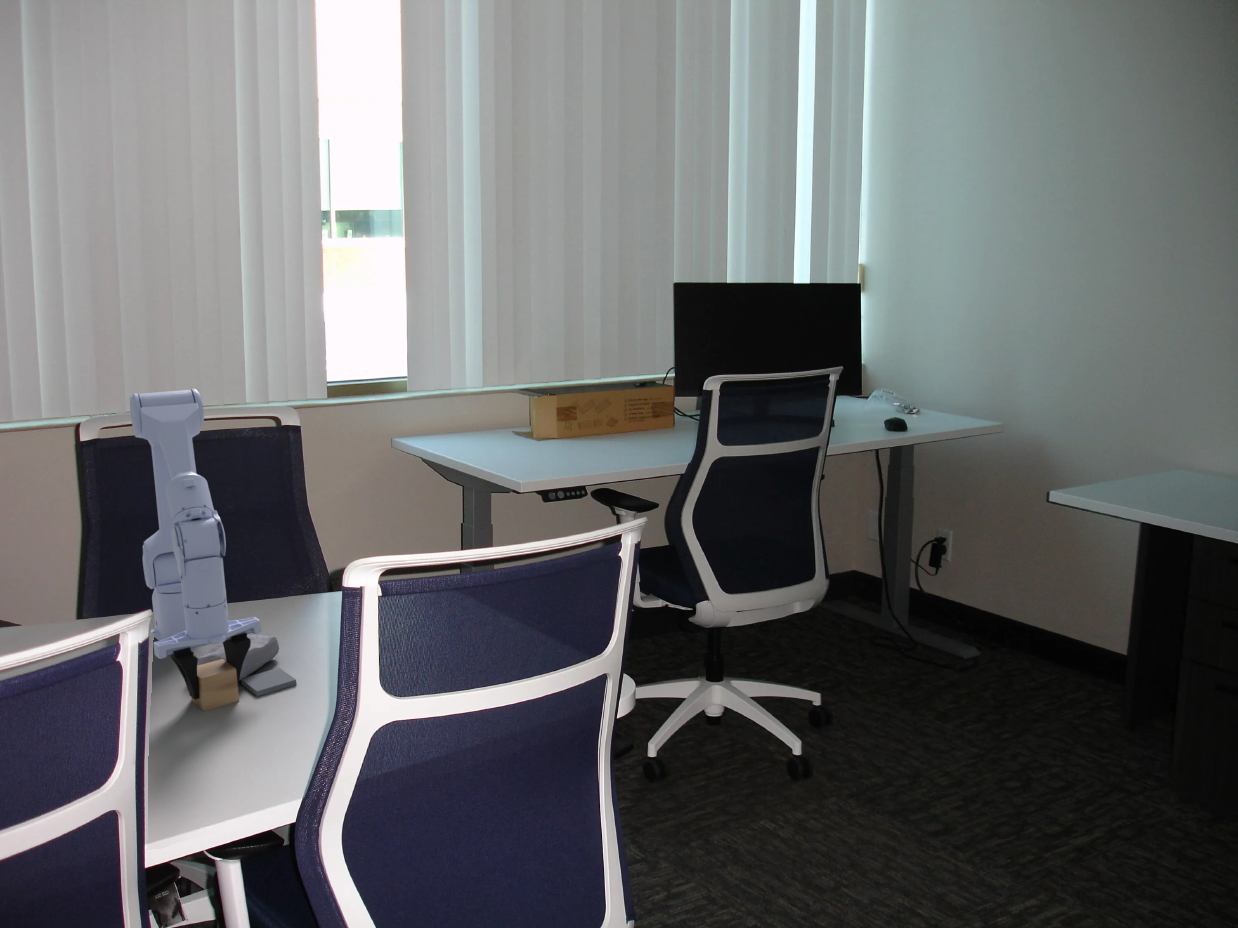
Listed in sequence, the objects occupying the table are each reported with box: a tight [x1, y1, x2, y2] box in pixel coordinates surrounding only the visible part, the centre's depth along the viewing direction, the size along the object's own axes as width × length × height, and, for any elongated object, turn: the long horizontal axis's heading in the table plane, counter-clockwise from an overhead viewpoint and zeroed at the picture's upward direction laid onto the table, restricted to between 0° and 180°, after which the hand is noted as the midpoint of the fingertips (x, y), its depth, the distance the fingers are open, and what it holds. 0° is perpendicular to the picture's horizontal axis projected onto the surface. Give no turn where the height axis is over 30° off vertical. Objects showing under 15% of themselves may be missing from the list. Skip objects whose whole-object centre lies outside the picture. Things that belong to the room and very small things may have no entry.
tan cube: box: [190, 659, 240, 712], centre depth 151 cm, size 5×5×5 cm
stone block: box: [197, 634, 280, 681], centre depth 162 cm, size 12×5×10 cm
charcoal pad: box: [240, 667, 297, 697], centre depth 157 cm, size 6×6×1 cm
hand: (214, 690), depth 151 cm, fingers open, 5 cm apart
